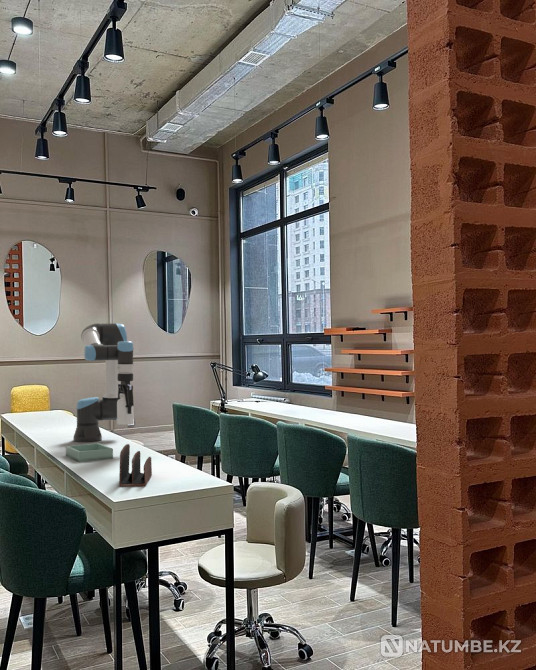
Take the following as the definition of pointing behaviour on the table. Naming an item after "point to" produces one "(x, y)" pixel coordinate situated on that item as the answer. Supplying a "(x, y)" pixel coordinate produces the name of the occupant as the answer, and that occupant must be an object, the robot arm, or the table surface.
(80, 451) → the box
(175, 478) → the table surface
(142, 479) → the letter holder
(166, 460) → the table surface
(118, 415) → the pill bottle
